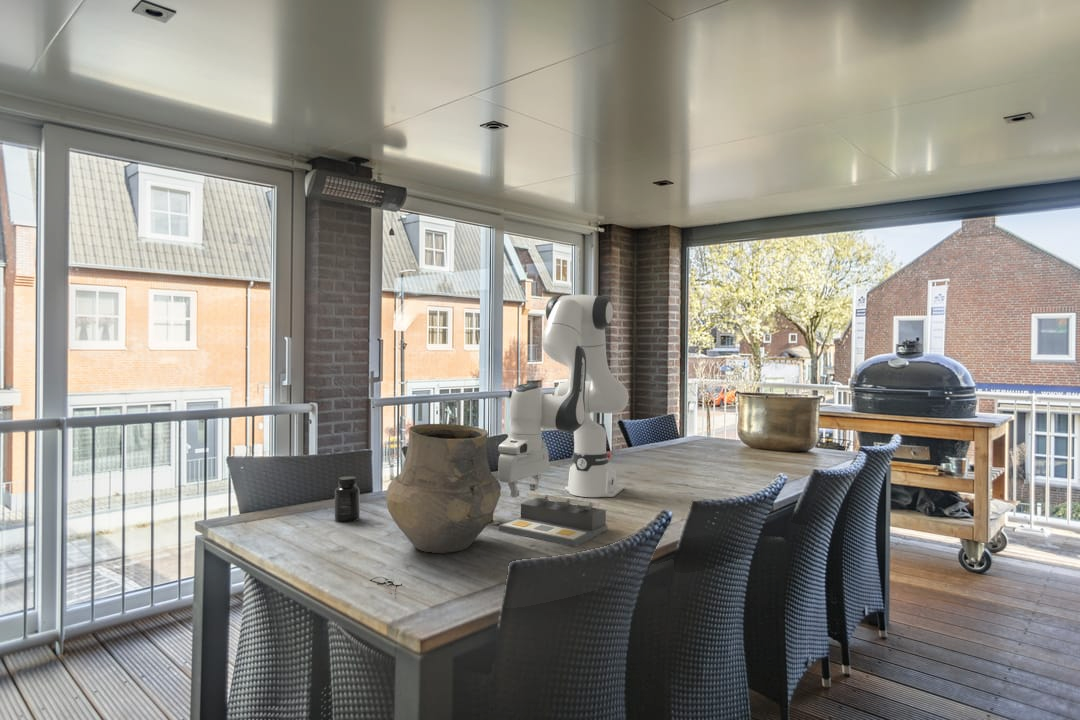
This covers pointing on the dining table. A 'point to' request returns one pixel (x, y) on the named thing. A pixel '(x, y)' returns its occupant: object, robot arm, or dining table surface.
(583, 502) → the switch
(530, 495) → the switch
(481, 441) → the ceramic pot
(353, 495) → the supplement bottle
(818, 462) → the dining table surface
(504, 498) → the dining table surface
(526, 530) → the switch unit
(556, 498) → the switch
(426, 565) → the dining table surface
